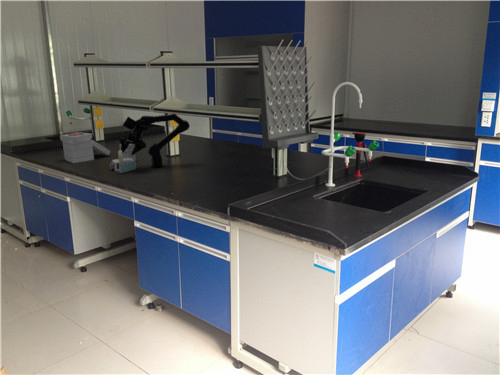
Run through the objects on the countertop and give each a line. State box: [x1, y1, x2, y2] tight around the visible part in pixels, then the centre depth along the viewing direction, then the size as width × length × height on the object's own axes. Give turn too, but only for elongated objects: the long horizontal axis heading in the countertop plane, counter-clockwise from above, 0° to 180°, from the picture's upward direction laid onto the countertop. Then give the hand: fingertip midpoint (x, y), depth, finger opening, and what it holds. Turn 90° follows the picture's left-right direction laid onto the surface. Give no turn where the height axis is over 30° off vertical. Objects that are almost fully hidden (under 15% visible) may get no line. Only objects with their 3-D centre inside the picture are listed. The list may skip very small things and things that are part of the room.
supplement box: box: [118, 143, 137, 162], centre depth 294 cm, size 7×7×13 cm
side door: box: [117, 149, 138, 174], centre depth 268 cm, size 13×2×14 cm, turn 145°
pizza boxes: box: [59, 131, 112, 164], centre depth 306 cm, size 19×30×18 cm, turn 133°
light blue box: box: [109, 158, 134, 172], centre depth 276 cm, size 14×10×6 cm
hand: (126, 154), depth 265 cm, fingers open, 9 cm apart
